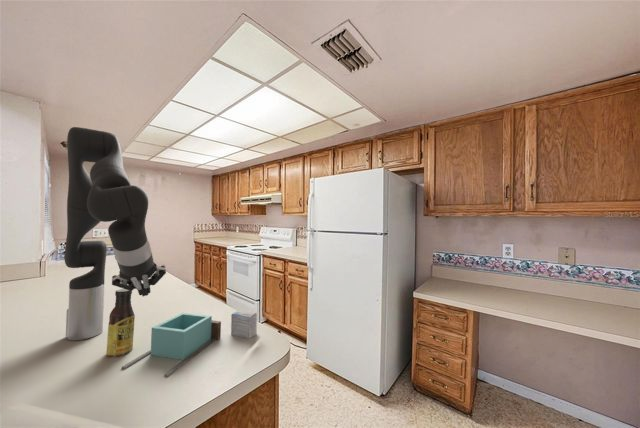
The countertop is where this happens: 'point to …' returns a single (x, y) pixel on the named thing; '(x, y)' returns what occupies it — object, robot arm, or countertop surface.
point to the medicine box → (244, 323)
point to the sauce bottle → (121, 325)
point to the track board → (214, 336)
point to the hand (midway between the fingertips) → (145, 293)
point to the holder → (180, 335)
